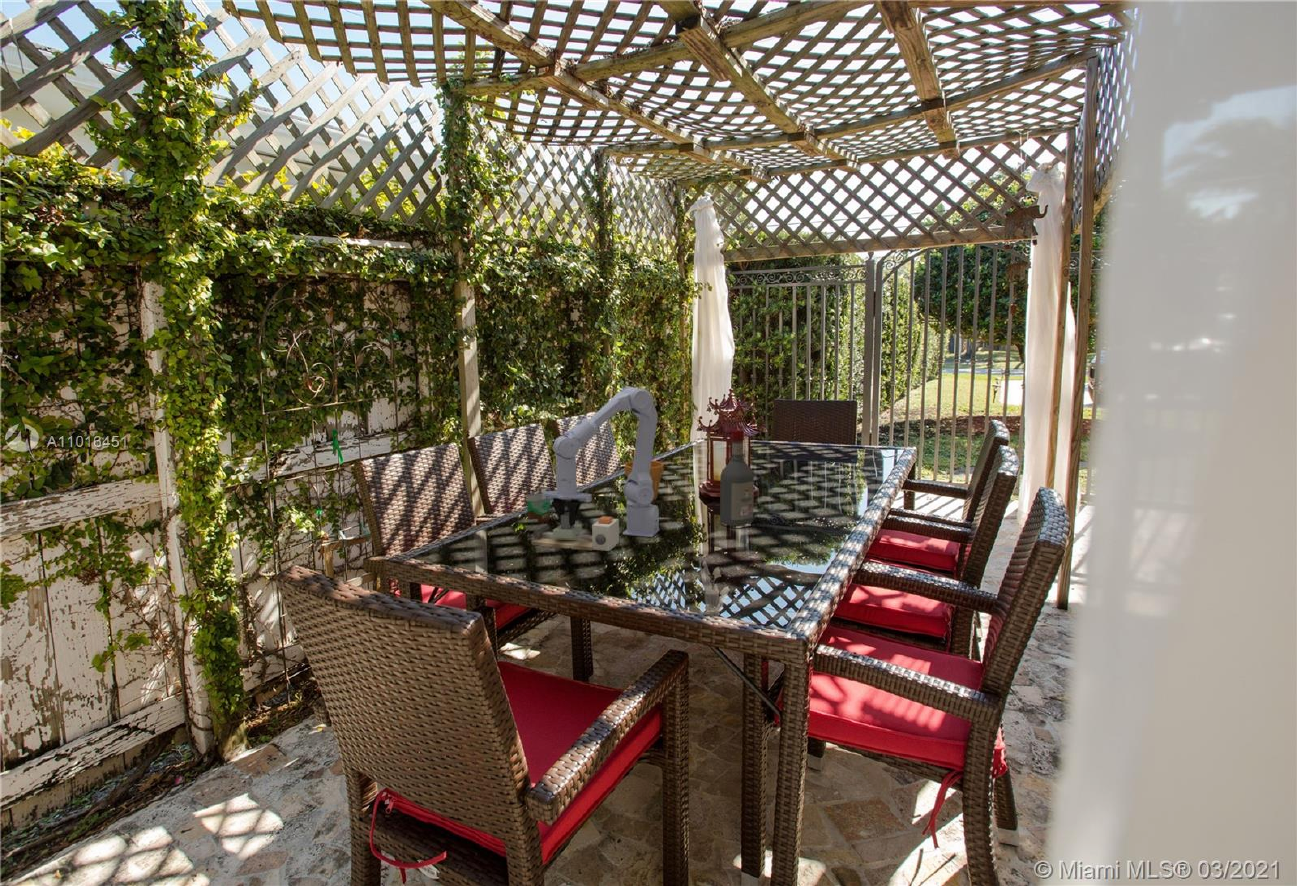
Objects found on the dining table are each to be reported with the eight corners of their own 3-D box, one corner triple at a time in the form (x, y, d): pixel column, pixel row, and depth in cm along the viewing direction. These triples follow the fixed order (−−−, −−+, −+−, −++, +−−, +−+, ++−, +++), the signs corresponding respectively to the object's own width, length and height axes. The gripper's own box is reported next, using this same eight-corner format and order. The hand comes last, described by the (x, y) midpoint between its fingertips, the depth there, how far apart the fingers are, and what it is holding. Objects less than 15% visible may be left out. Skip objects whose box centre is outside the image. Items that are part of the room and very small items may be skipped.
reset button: (612, 524, 190) (612, 517, 190) (608, 527, 187) (608, 519, 187) (602, 523, 191) (602, 516, 191) (598, 526, 188) (598, 519, 188)
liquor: (757, 525, 210) (759, 430, 205) (735, 530, 205) (736, 433, 200) (737, 518, 217) (739, 427, 213) (716, 523, 212) (716, 430, 208)
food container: (545, 526, 210) (544, 495, 208) (526, 525, 211) (525, 494, 210) (558, 516, 222) (557, 486, 220) (540, 515, 223) (539, 486, 221)
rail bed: (604, 540, 196) (603, 526, 195) (591, 550, 186) (591, 536, 186) (546, 534, 201) (545, 522, 200) (531, 544, 192) (530, 531, 191)
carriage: (582, 534, 196) (581, 511, 195) (572, 541, 189) (571, 517, 188) (563, 533, 197) (562, 510, 196) (553, 540, 191) (552, 516, 190)
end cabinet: (618, 542, 193) (618, 519, 192) (608, 551, 185) (608, 527, 184) (602, 541, 195) (602, 517, 194) (592, 549, 187) (591, 525, 186)
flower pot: (621, 502, 239) (621, 467, 237) (629, 493, 253) (628, 459, 251) (660, 504, 237) (660, 468, 235) (666, 494, 250) (666, 460, 248)
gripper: (536, 479, 189) (538, 526, 191) (584, 482, 185) (585, 530, 187) (547, 474, 196) (549, 519, 198) (593, 477, 191) (594, 523, 193)
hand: (567, 524), depth 193 cm, fingers closed on carriage, 2 cm apart
